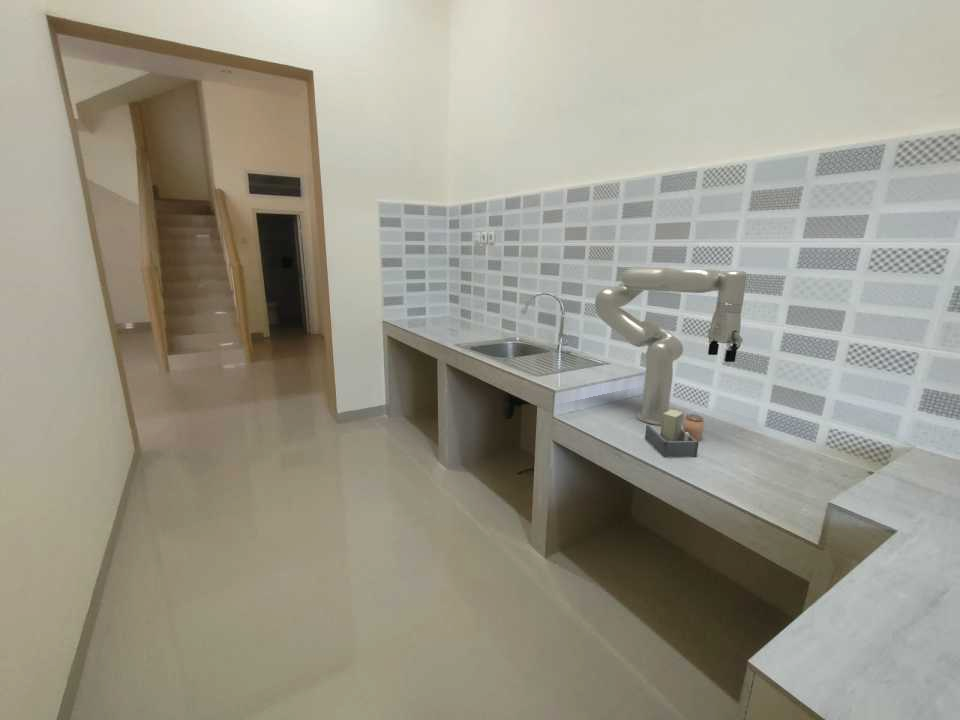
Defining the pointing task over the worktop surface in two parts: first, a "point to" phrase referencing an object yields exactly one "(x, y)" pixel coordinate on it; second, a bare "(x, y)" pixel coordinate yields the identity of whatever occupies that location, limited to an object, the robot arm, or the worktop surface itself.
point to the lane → (672, 444)
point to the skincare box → (671, 425)
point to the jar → (694, 426)
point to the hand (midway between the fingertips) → (720, 358)
